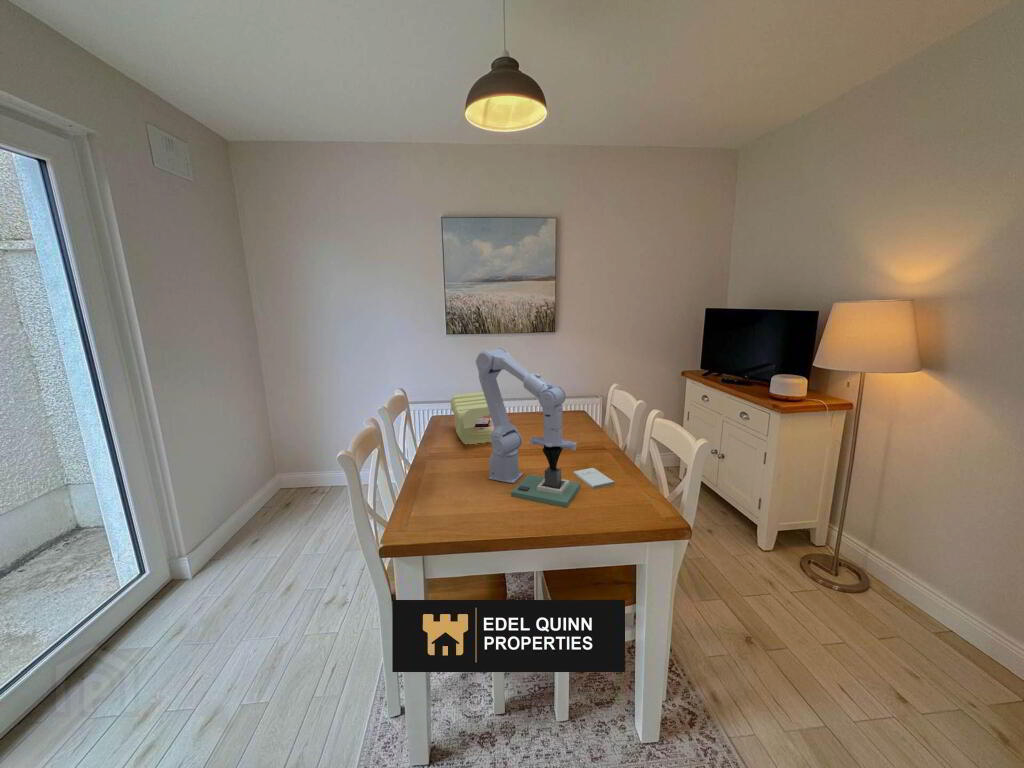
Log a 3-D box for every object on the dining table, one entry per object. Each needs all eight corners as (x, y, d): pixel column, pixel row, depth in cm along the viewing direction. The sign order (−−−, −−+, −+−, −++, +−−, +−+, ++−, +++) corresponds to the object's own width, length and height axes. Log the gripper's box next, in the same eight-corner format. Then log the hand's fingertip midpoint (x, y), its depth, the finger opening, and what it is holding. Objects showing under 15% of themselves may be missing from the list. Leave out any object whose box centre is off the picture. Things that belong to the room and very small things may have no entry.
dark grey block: (544, 488, 125) (544, 470, 124) (549, 483, 129) (549, 465, 127) (557, 491, 123) (556, 472, 122) (561, 485, 127) (561, 467, 126)
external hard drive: (592, 490, 128) (573, 475, 139) (614, 485, 131) (593, 471, 142) (592, 485, 127) (573, 471, 139) (614, 481, 130) (593, 467, 142)
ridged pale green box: (452, 431, 190) (450, 394, 186) (485, 427, 195) (483, 391, 191) (465, 453, 162) (462, 410, 158) (503, 447, 167) (501, 406, 163)
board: (511, 496, 124) (510, 488, 124) (529, 478, 137) (528, 470, 136) (566, 507, 117) (566, 498, 116) (580, 487, 129) (580, 479, 128)
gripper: (525, 428, 122) (526, 470, 125) (571, 433, 116) (571, 477, 118) (534, 421, 128) (535, 461, 131) (578, 426, 122) (578, 468, 125)
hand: (553, 468), depth 125 cm, fingers closed, pressing on dark grey block
